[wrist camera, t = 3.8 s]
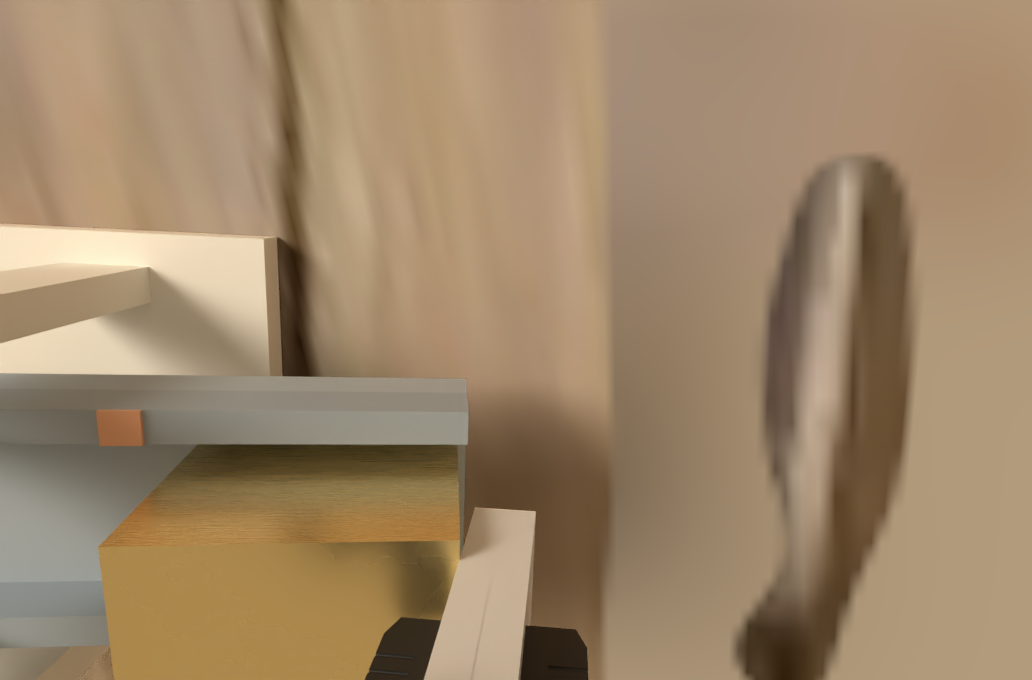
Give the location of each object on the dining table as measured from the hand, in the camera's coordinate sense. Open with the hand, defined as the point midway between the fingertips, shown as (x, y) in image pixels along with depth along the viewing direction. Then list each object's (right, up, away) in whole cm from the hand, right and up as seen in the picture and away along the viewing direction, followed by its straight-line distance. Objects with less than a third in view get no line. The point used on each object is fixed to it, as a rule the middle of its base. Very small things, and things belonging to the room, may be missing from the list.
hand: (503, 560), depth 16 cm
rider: (-5, +1, +3) cm, 6 cm away
